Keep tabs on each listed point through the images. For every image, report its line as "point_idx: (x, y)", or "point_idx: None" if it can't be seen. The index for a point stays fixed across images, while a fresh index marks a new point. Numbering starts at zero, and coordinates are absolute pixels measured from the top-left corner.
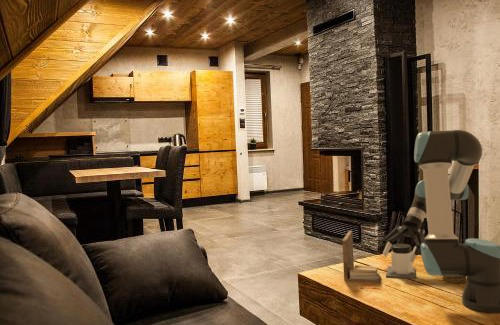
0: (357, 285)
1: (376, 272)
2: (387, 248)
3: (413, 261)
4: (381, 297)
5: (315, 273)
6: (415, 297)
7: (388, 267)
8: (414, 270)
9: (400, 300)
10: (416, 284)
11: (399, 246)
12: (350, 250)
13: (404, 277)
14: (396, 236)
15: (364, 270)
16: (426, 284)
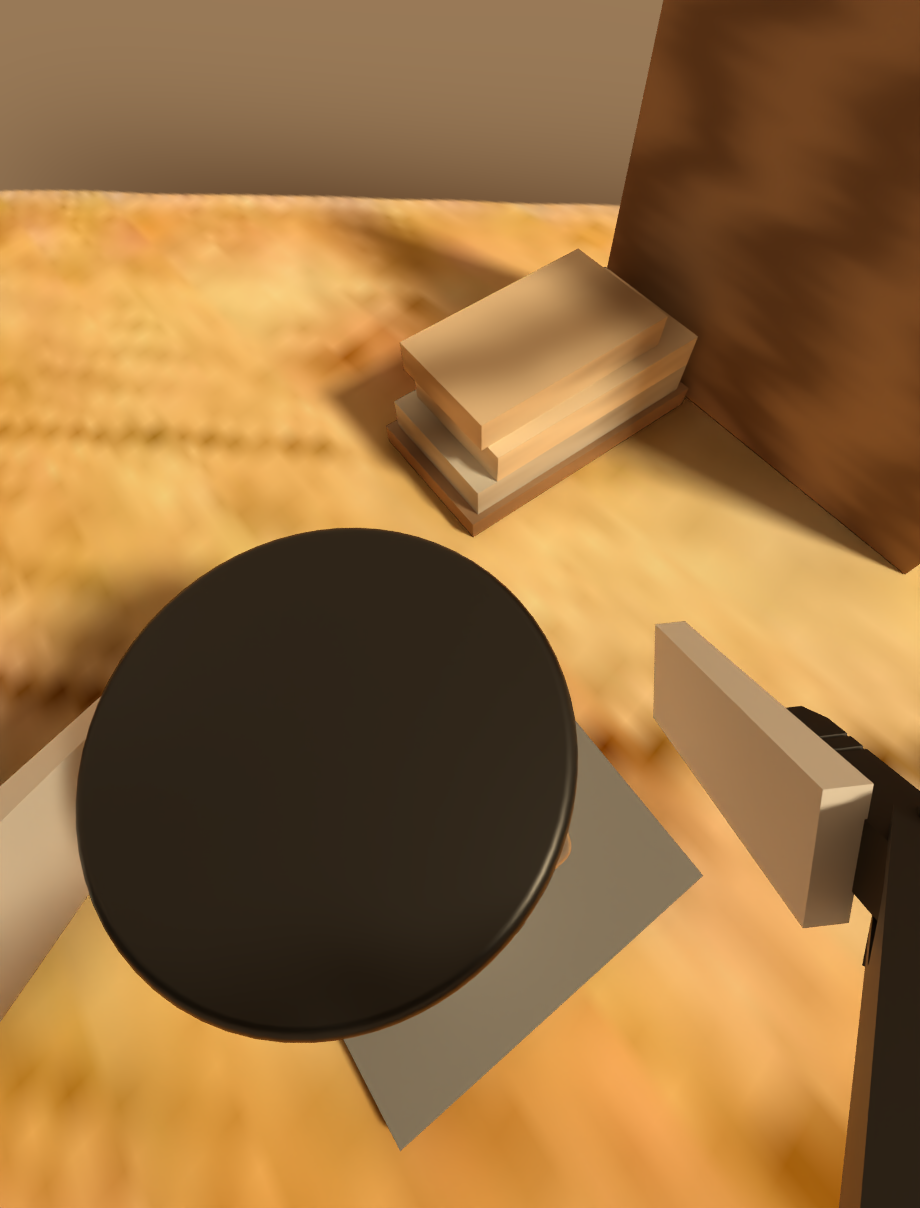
0: None
1: (409, 370)
2: (717, 722)
3: None
4: (211, 285)
5: None
6: (19, 412)
7: (653, 830)
8: None
9: (87, 322)
10: (121, 629)
11: (315, 633)
12: (912, 227)
13: None
14: (867, 1133)
15: (494, 299)
16: (38, 697)
